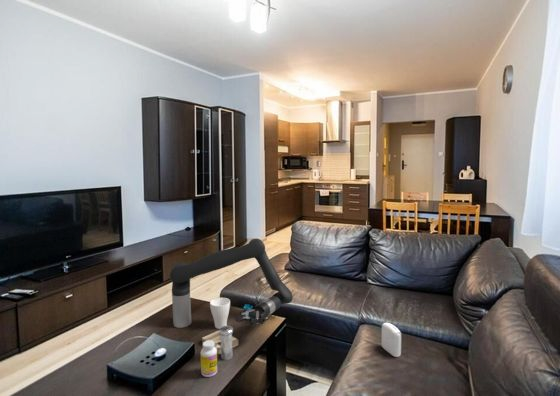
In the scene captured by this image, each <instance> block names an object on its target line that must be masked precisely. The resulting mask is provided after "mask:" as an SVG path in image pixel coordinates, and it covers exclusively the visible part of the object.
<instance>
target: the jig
mask: <svg viewBox="0 0 560 396" xmlns="http://www.w3.org/2000/svg"><path fill="white" fill-rule="evenodd" d="M201 338H202V339H201V341H202V344H203V343H204V342H205V341H208V340H212V341H214V347H215V348H216V349H217V355H221V344H219V343H221V335H220V334H219V330H216V331H214V332H211V333H210V334H208V335H206V336H203V337H201ZM237 346H239V339H238V338H236V337H234V336H233V335H232V349H233V348H235V347H237Z"/></svg>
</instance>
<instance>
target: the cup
mask: <svg viewBox="0 0 560 396" xmlns="http://www.w3.org/2000/svg"><path fill="white" fill-rule="evenodd" d="M209 307H210V308H209V309H210V312H211V315H212V317H213V321H214V327H215V329H217V330H219V329H220V328H221V327H223V326H228V325H227V324H228V317H229V313H230V308H231V299H229V298H227V297H218V298H213V299H212V300H211V301H209Z"/></svg>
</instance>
